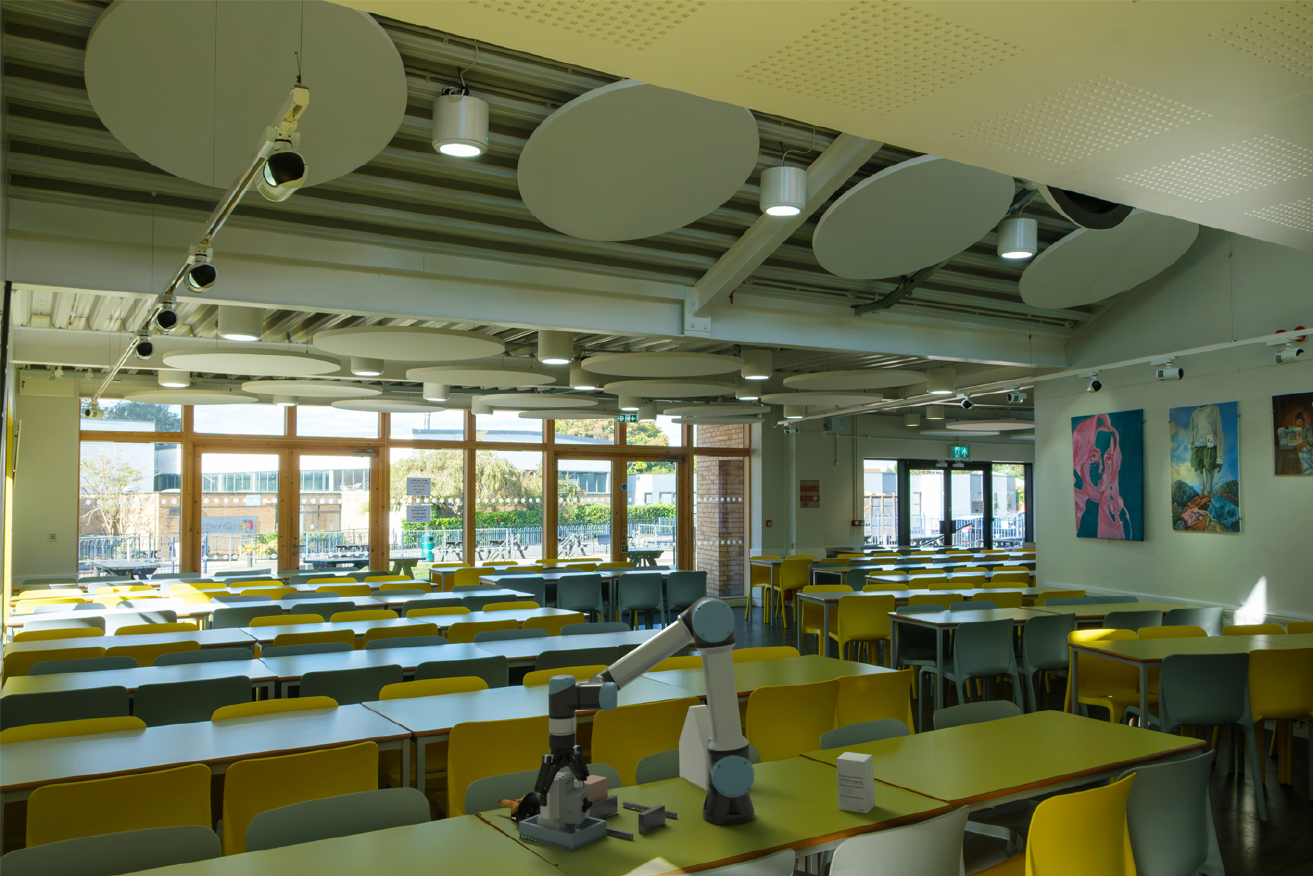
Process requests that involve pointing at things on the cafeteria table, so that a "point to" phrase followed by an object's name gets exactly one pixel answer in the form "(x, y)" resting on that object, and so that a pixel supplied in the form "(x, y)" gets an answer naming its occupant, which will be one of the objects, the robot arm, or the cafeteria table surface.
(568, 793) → the circuit breaker
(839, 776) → the supplement box
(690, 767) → the milk carton
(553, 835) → the tray
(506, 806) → the fried shrimp in bowl
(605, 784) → the beige rectangular block
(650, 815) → the grey blocks
